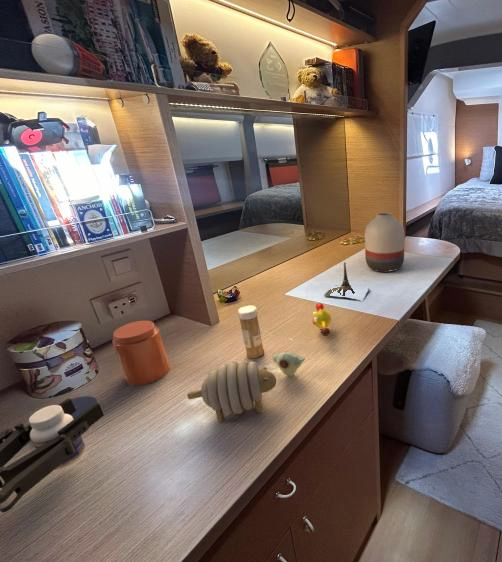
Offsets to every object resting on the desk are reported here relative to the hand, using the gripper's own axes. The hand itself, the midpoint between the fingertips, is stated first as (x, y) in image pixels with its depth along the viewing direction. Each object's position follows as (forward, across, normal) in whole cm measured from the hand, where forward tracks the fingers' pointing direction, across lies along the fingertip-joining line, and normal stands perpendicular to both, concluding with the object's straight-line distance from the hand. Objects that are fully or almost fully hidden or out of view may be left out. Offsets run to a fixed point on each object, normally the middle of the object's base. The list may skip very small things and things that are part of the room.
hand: (85, 407), depth 61 cm
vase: (+102, +37, -9) cm, 109 cm away
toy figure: (+46, +28, -9) cm, 54 cm away
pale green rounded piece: (+25, +27, -9) cm, 38 cm away
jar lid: (+4, -12, -7) cm, 14 cm away
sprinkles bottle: (+32, +14, -9) cm, 36 cm away
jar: (+20, -8, -9) cm, 23 cm away
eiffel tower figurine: (+73, +28, -9) cm, 78 cm away
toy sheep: (+13, +21, -9) cm, 26 cm away
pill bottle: (-5, 0, -6) cm, 8 cm away
